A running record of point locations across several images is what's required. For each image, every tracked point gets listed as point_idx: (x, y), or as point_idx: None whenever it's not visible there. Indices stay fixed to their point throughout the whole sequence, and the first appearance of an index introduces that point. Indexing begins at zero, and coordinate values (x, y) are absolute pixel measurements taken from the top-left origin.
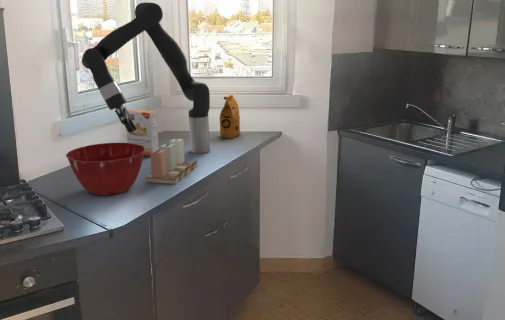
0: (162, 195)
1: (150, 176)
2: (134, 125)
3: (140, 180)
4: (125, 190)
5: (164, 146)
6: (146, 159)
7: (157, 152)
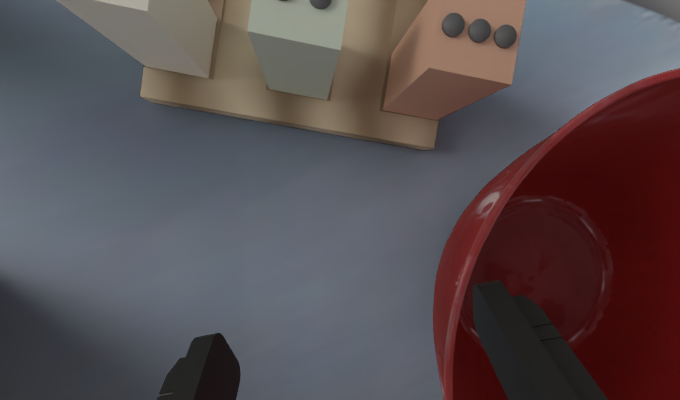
0: (587, 35)
1: (424, 132)
2: (189, 383)
3: (405, 188)
4: (544, 205)
5: (335, 12)
6: (36, 279)
7: (513, 25)
